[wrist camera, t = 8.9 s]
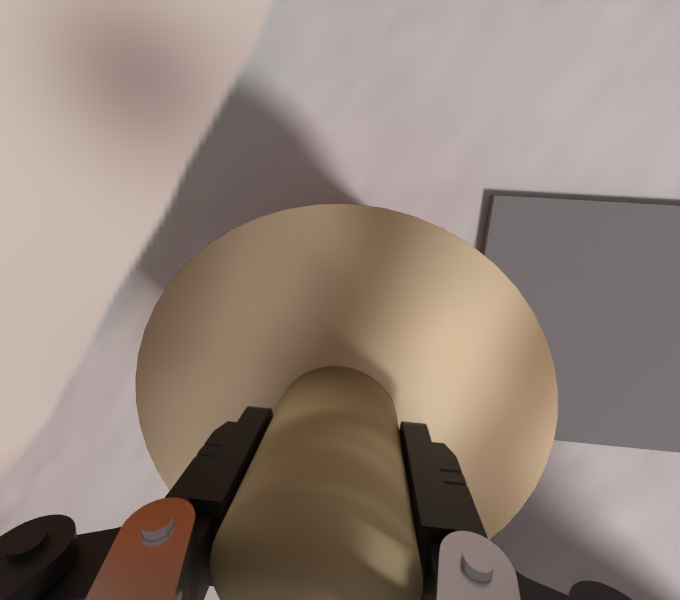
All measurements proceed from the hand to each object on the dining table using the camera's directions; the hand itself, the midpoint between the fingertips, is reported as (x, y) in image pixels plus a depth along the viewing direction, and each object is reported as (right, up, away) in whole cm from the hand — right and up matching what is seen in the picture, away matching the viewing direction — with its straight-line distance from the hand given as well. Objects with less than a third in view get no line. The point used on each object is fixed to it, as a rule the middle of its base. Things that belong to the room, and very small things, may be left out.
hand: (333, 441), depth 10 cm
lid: (0, +1, +2) cm, 2 cm away
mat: (+16, +2, +10) cm, 19 cm away
